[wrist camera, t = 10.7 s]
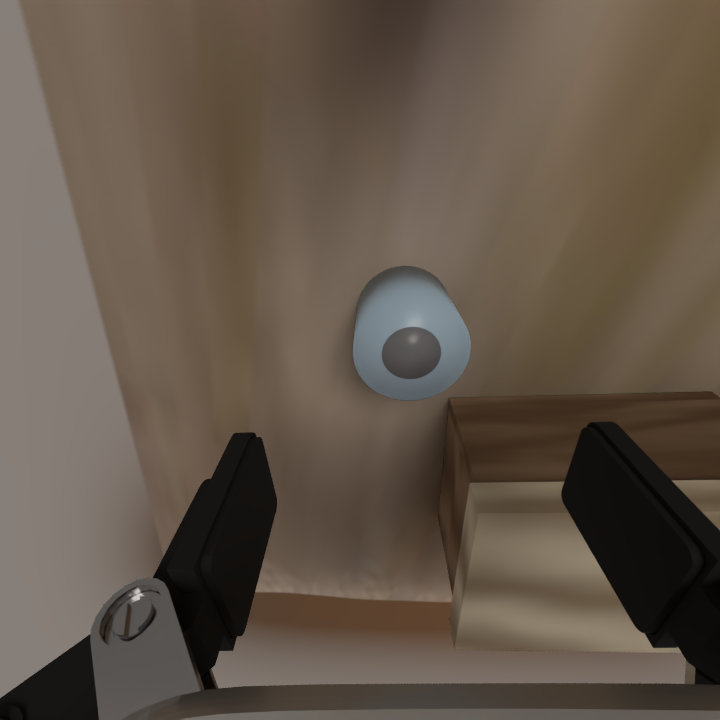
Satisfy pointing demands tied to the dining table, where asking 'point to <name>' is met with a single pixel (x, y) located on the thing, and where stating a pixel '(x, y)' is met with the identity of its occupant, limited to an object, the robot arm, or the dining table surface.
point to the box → (566, 442)
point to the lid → (541, 574)
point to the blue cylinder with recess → (409, 335)
